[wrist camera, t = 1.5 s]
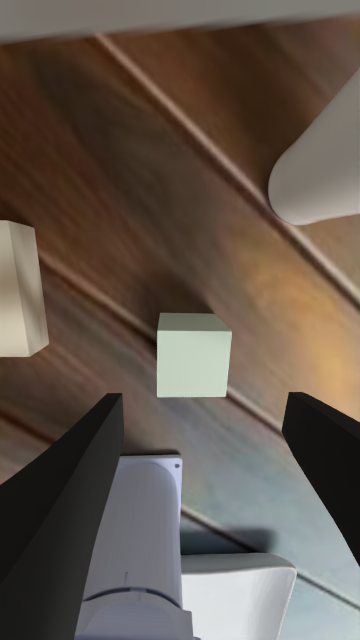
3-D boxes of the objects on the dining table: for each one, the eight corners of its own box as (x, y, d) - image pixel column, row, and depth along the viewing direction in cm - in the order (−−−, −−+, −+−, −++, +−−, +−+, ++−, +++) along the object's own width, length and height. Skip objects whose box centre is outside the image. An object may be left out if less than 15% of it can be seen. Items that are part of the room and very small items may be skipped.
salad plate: (106, 537, 24) (96, 580, 21) (284, 532, 26) (302, 571, 22) (109, 646, 29) (102, 695, 26) (257, 636, 31) (268, 681, 28)
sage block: (211, 363, 19) (225, 396, 14) (159, 363, 19) (157, 397, 14) (214, 313, 18) (232, 331, 13) (160, 312, 18) (157, 330, 13)
